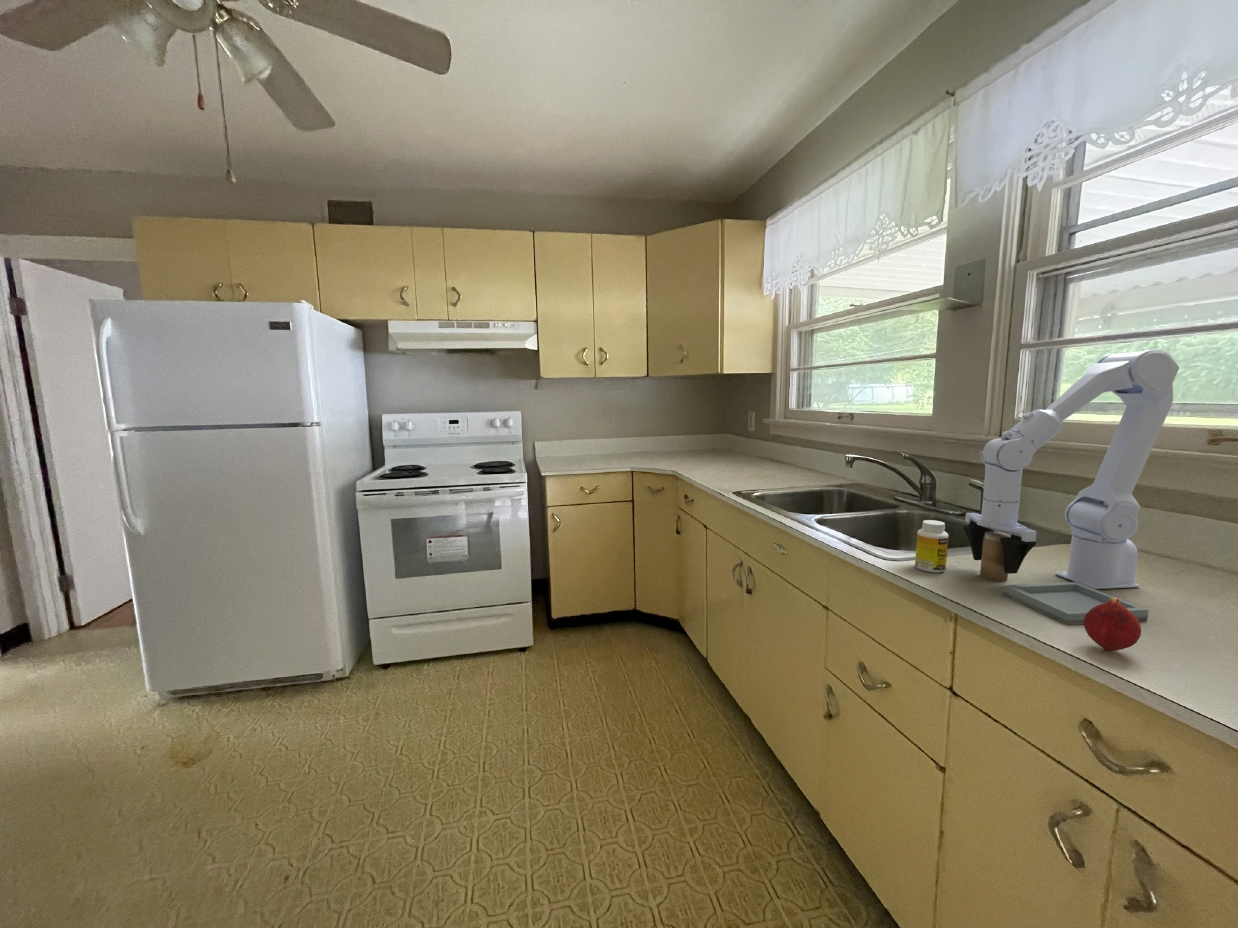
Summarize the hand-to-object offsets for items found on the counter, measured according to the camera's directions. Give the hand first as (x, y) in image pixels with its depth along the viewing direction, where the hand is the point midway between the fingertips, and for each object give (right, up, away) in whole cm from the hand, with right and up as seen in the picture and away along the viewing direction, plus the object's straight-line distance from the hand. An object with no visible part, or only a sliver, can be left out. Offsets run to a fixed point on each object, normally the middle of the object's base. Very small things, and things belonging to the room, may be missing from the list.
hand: (994, 566), depth 99 cm
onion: (-5, -7, -28) cm, 29 cm away
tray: (+3, -4, -13) cm, 14 cm away
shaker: (0, -2, 0) cm, 2 cm away
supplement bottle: (-9, -2, +6) cm, 11 cm away
